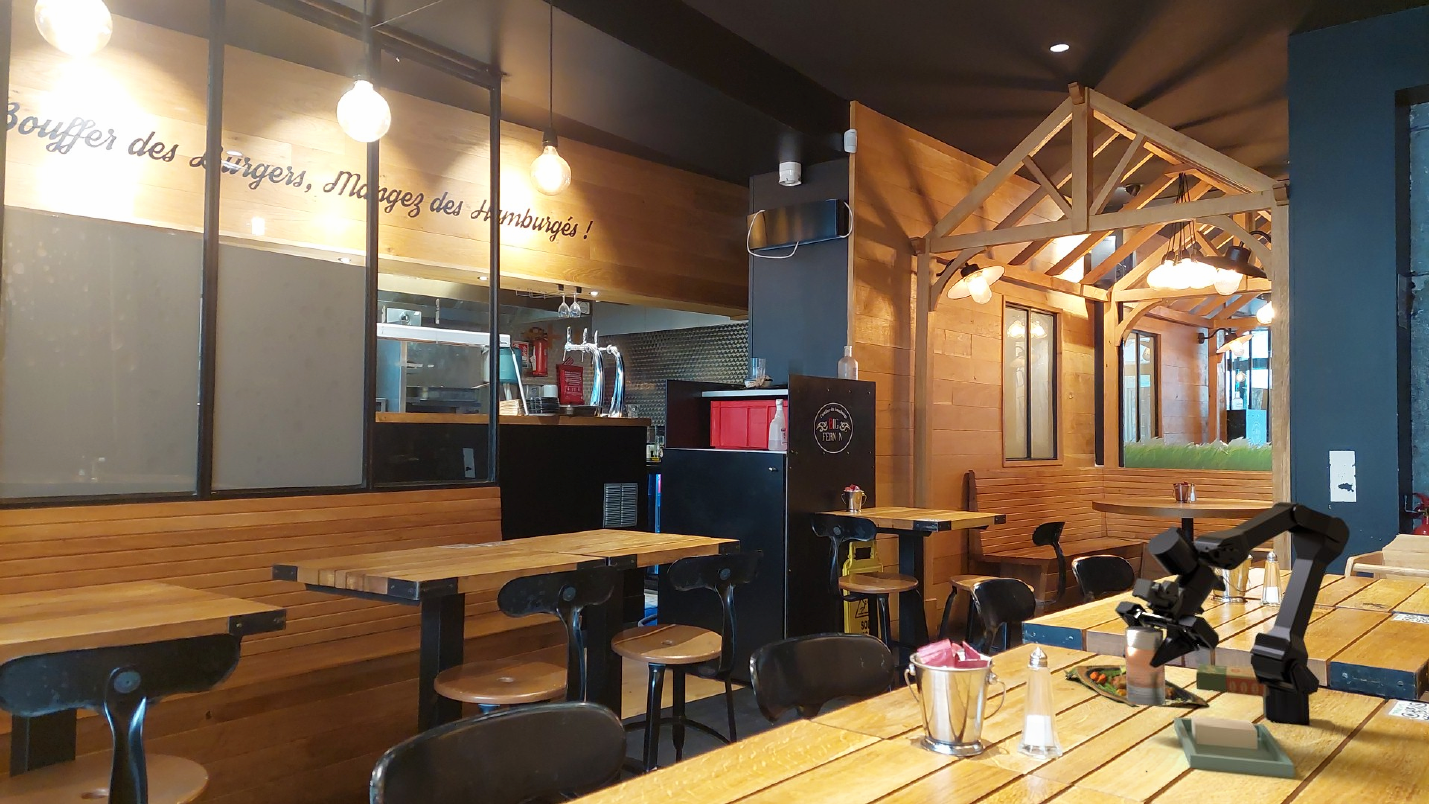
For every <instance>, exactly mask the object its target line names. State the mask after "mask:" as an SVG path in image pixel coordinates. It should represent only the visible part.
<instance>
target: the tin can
mask: <svg viewBox="0 0 1429 804" xmlns="http://www.w3.org/2000/svg"><path fill="white" fill-rule="evenodd" d="M1124 640H1125V643H1124V648H1125V658H1126V659H1125V658H1124V659H1125V665H1126V683H1127V700H1128V701H1130V702H1133V703H1137V704H1143V705H1142V706H1147V705H1165V701H1166V699H1165V680H1166V669H1165V668H1166V667H1165V666H1166V665H1165V664H1166V663H1165V664H1163V665H1161V666H1159V667H1157V668H1153V667H1152V665H1151V661H1152V659H1153V657H1154V655H1155V654H1156V652H1157V650H1158V649H1159V647H1160V646H1161V644H1162V642H1163V641H1164V629H1162V628H1159V627H1155V628H1153V627H1142V626H1133V627H1128V626H1127V627H1125V628H1124Z"/></svg>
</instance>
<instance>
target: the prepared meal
mask: <svg viewBox="0 0 1429 804" xmlns="http://www.w3.org/2000/svg"><path fill="white" fill-rule="evenodd" d="M1063 671H1064V673H1065V677H1067V678H1066V679H1065V680H1069V678H1070V679H1071V678H1072V677H1074V676H1075V677H1076V678H1078V679H1079V680H1080V682H1081V683H1082V684H1083V685H1085V686H1088V687H1091V688H1092V689H1093V690H1094V691H1096V692H1097V693H1098V694H1100V695H1102V696H1104V697H1109V698H1110V699H1112V700H1114V701H1116V702H1117V703H1120V702H1122V703H1121V704H1125V703H1126V704H1125V705H1128V706H1130V707H1132V708H1140V706H1144V705H1143V704H1137V703H1133V702H1130V701H1128V700H1127V683H1126V664H1104V665H1102V664H1101V665H1100V664H1099V665H1096V664H1095V665H1076V666H1075V667H1073V668H1072V669H1071V670H1069V671H1067V670H1065V669H1063ZM1065 677H1064V678H1065ZM1168 700H1169V701H1168ZM1170 701H1171V703H1170V704H1167V703H1169V702H1170ZM1188 704H1189V705H1190V704H1194V705H1200V706H1206V707H1208V708H1210V705H1209V703H1208V702H1207V701H1206V700H1205V699H1204V698H1203V697H1201V696H1199V695H1197V694H1195V693H1194V692H1192V691H1189V690H1187V689H1184V688H1182V687H1181V686H1180V685H1179V686H1178V685H1177V684H1175V683H1173V682H1171V681H1169V680H1167V679H1165V703H1164V704H1162V705H1146V706H1148V707H1149V706H1151V707H1158V708H1173V709H1174V708H1175V709H1176V708H1178V707H1180V706H1183V705H1188Z"/></svg>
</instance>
